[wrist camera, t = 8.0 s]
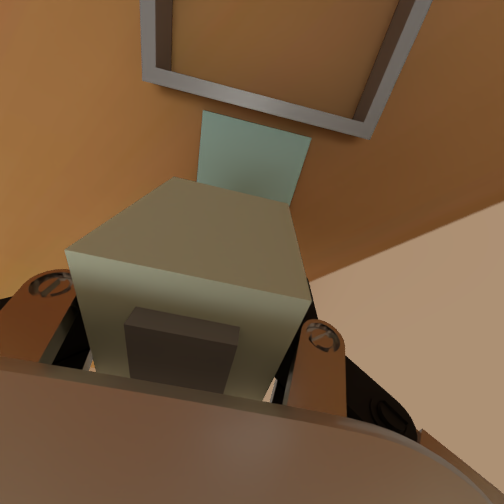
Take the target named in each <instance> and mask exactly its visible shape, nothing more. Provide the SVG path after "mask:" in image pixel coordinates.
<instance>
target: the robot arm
mask: <svg viewBox="0 0 504 504" xmlns="http://www.w3.org/2000/svg"><path fill="white" fill-rule="evenodd" d="M306 278H307V277H306ZM307 282H308V287H309V291H310V295H311V299H312V302H311V304H310V306H309V308H308V310H307V312H306V314H305V316H304V318H303V320H302V322H301V324H300V326H299V328H298V330H297V332H296V334H295V336H294V338H293V340H292V342H291V344H290V346H289V348H288V350H287V352H286V354H285V356H284V358H283V360H282V362H281V364H280V366H279V368H278V370H277V372H276V374H275V376H274V377H275V378H276V380H275V383H274V387H273V391H272V395H271V399H270V403H269V402H263V401H258V400H252V399H247V398H241V397H236V396H230V395H224V394H219V393H213V392H208V391H202V390H196V389H190V388H185V387H179V386H173V385H167V384H161V383H156V382H150V381H144V380H138V379H132V378H127V377H121V376H115V375H109V374H103V373H97V372H92V371H89V368H90V366H91V363H92V360H93V357H92V353H91V350H90V346H89V342H88V338H87V334H86V330H85V327H84V323H83V319H82V315H81V311H80V307H79V304H78V300H77V296H76V292H75V288H74V284H73V281H72V277H71V273H70V270H68V269H57V270H51V271H46V272H43V273H40V274H38V275H36V276H34V277H32V278H30V279H29V280H28V281H26V282H25V283H24V284H23V285H22V286H21V288H20V289H19V290H18V291H17V292H16V293H15V294H14V296H12V297H8V298H4V299H0V504H504V494H503V493H501V491H499V490H498V489H497V488H496V487H495V486H493V485H492V484H491V483H489V482H488V481H487V480H486V479H485V478H483V477H482V476H481V475H480V474H478V473H477V472H476V471H474V470H473V469H472V468H471V467H470V466H468V465H467V464H466V463H465V462H463V461H462V460H461V459H460V458H458V457H457V456H456V455H455V454H453V453H452V452H451V451H450V450H448V449H447V448H446V447H445V446H443V445H442V444H441V443H440V442H438V441H437V440H436V439H434V438H433V437H432V436H431V435H430V434H428V433H427V432H426V431H425V430H423V429H421V430H420V431H418V430H417V429H416V427H415V426H414V423H413V421H412V419H411V417H410V416H409V414H408V413H407V411H406V410H405V409H404V408H403V407H402V406H401V404H400V403H398V401H397V400H395V399H394V398H393V397H392V396H391V395H390V394H389V393H387V392H386V391H385V390H384V389H383V388H382V387H381V386H379V385H378V384H377V383H376V382H375V381H374V380H373V379H372V378H370V377H369V376H368V375H367V374H366V373H365V372H364V371H362V370H361V369H360V368H359V367H358V366H357V365H356V364H354V363H353V362H352V361H351V360H350V359H349V358H348V357H347V356H345V344H344V340H343V338H342V336H341V334H340V333H339V332H338V331H337V330H336V329H335V328H334V327H333V326H331V325H330V324H328V323H327V322H325V321H322V320H318V317H317V314H316V310H315V306H314V302H313V297H312V293H311V289H310V285H309V281H308V278H307Z"/></svg>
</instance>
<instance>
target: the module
mask: <svg viewBox="0 0 504 504" xmlns="http://www.w3.org/2000/svg"><path fill="white" fill-rule="evenodd" d="M65 254H66V257H67V261H68V265H69V269H70V273H71V277H72V281H73V284H74V288H75V292H76V296H77V300H78V304H79V307H80V311H81V315H82V319H83V323H84V327H85V330H86V334H87V338H88V342H89V346H90V350H91V353H92V357H93V361H94V365H95V369H96V372H97V373H103V374H109V375H115V376H121V377H127V378H132V379H138V380H144V381H150V382H156V383H161V384H167V385H173V386H179V387H185V388H190V389H196V390H202V391H208V392H213V393H219V394H224V395H230V396H236V397H241V398H247V399H252V400H258V401H262V400H263V398H264V396H265V394H266V392H267V390H268V388H269V386H270V384H271V382H272V380H273V378H274V376H275V374H276V372H277V370H278V368H279V366H280V364H281V362H282V360H283V358H284V356H285V354H286V352H287V350H288V348H289V346H290V344H291V342H292V340H293V338H294V336H295V334H296V332H297V330H298V328H299V326H300V324H301V322H302V320H303V318H304V316H305V314H306V312H307V310H308V308H309V306H310V304H311V302H312V299H311V295H310V291H309V287H308V282H307V278H306V274H305V270H304V266H303V262H302V258H301V254H300V250H299V246H298V242H297V237H296V233H295V229H294V225H293V221H292V217H291V213H290V209H289V205H288V204H287V203H283V202H279V201H275V200H270V199H266V198H262V197H258V196H253V195H249V194H245V193H241V192H236V191H232V190H228V189H224V188H220V187H215V186H211V185H207V184H203V183H198V182H194V181H190V180H186V179H182V178H177V177H173V178H171V179H170V180H168V181H167V182H165V183H164V184H162V185H161V186H159V187H158V188H156V189H155V190H153V191H152V192H150V193H149V194H147V195H146V196H144V197H143V198H141V199H140V200H138V201H137V202H135V203H134V204H132V205H131V206H129V207H128V208H126V209H125V210H123V211H122V212H120V213H119V214H117V215H116V216H114V217H113V218H111V219H110V220H108V221H107V222H105V223H104V224H102V225H101V226H99V227H98V228H96V229H95V230H93V231H92V232H90V233H89V234H87V235H86V236H84V237H83V238H81V239H80V240H78V241H77V242H75V243H74V244H72V245H71V246H69V247H68V248H66V249H65Z"/></svg>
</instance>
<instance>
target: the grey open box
mask: <svg viewBox="0 0 504 504" xmlns="http://www.w3.org/2000/svg"><path fill="white" fill-rule="evenodd" d="M432 1H433V0H400V1H399V3H398V6H397V8H396V11H395V13H394V16H393V18H392V21H391V23H390V26H389V28H388V31H387V33H386V36H385V38H384V41H383V43H382V46H381V48H380V51H379V53H378V56H377V59H376V61H375V64H374V66H373V69H372V71H371V74H370V76H369V79H368V81H367V84H366V86H365V89H364V91H363V94H362V96H361V99H360V101H359V104H358V106H357V109H356V112H355V114H354V117H353V119H348V118H345V117H341V116H337V115H333V114H330V113H326V112H322V111H318V110H315V109H311V108H307V107H303V106H300V105H296V104H292V103H288V102H284V101H281V100H277V99H273V98H269V97H266V96H262V95H258V94H254V93H251V92H247V91H243V90H239V89H236V88H232V87H228V86H224V85H220V84H217V83H213V82H209V81H205V80H202V79H198V78H194V77H190V76H187V75H183V74H179V73H175V72H172V71H171V46H172V0H140V24H141V54H142V81H146V82H150V83H154V84H157V85H161V86H165V87H169V88H173V89H177V90H180V91H184V92H188V93H192V94H196V95H200V96H203V97H207V98H211V99H215V100H219V101H223V102H226V103H230V104H234V105H238V106H242V107H245V108H249V109H253V110H257V111H261V112H265V113H268V114H272V115H276V116H280V117H284V118H288V119H291V120H295V121H299V122H303V123H307V124H311V125H314V126H318V127H322V128H326V129H330V130H334V131H337V132H341V133H345V134H349V135H353V136H357V137H360V138H364V139H368V140H370V138H371V136H372V134H373V132H374V129H375V127H376V125H377V123H378V120H379V118H380V116H381V114H382V112H383V109H384V107H385V105H386V103H387V101H388V98H389V96H390V94H391V92H392V89H393V87H394V85H395V83H396V81H397V78H398V76H399V74H400V72H401V69H402V67H403V65H404V63H405V61H406V58H407V56H408V54H409V52H410V50H411V47H412V45H413V43H414V41H415V38H416V36H417V34H418V32H419V30H420V27H421V25H422V23H423V21H424V19H425V16H426V14H427V12H428V10H429V7H430V5H431V3H432Z"/></svg>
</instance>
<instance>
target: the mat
mask: <svg viewBox="0 0 504 504" xmlns="http://www.w3.org/2000/svg"><path fill="white" fill-rule="evenodd" d="M310 141H311V138H310V137H306V136H302V135H298V134H294V133H291V132H287V131H283V130H279V129H275V128H271V127H267V126H263V125H259V124H256V123H252V122H248V121H244V120H240V119H236V118H232V117H228V116H224V115H221V114H217V113H213V112H209V111H205V110H203V116H202V127H201V138H200V150H199V161H198V173H197V182H198V183H203V184H207V185H211V186H215V187H220V188H224V189H228V190H232V191H236V192H241V193H245V194H249V195H253V196H258V197H262V198H266V199H270V200H275V201H279V202H283V203H287V204H288V205H289V206H290V203H291V200H292V197H293V194H294V191H295V187H296V184H297V181H298V178H299V175H300V172H301V169H302V166H303V163H304V160H305V157H306V154H307V151H308V147H309V144H310Z"/></svg>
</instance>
